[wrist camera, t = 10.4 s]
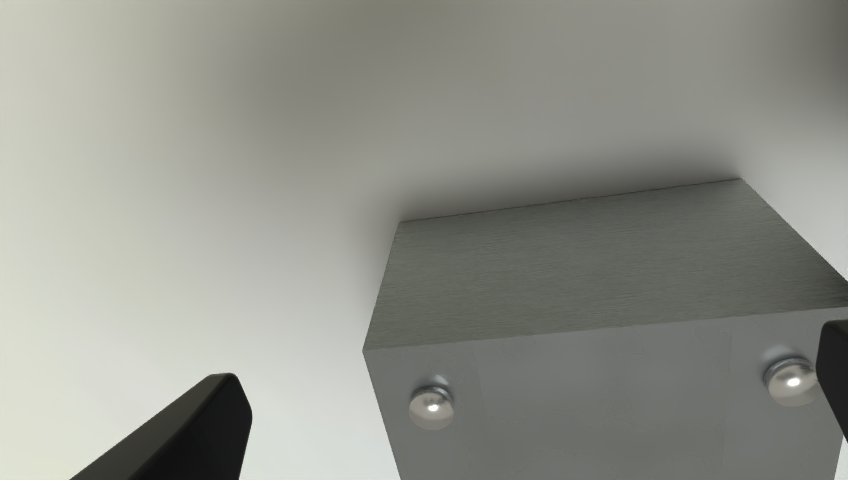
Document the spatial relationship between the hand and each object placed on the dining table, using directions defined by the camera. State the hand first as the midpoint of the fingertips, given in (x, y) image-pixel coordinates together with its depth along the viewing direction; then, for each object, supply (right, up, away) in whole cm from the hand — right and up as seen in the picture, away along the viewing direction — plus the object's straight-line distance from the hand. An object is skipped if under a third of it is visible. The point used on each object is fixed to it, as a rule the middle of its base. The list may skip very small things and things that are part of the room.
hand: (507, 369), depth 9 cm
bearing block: (+5, -1, +14) cm, 15 cm away
